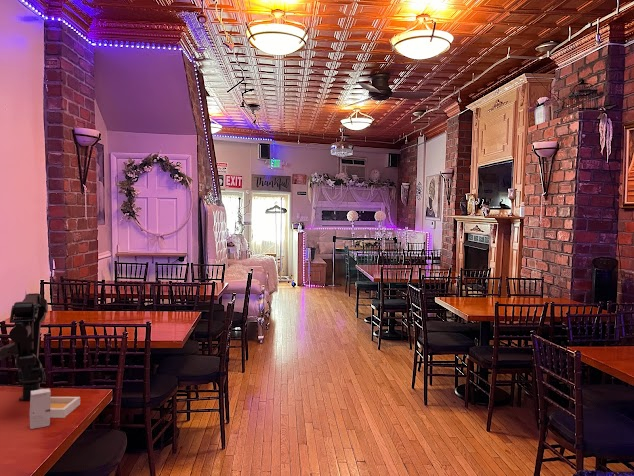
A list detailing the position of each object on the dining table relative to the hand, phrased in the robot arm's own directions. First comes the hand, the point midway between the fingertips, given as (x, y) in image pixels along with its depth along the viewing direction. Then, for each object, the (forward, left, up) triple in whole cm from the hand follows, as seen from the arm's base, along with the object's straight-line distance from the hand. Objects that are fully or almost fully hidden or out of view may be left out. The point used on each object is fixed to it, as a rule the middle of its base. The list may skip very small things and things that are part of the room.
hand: (24, 377), depth 174 cm
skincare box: (+11, +12, -13) cm, 21 cm away
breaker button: (-1, +11, -13) cm, 17 cm away
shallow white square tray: (-1, +11, -13) cm, 17 cm away
